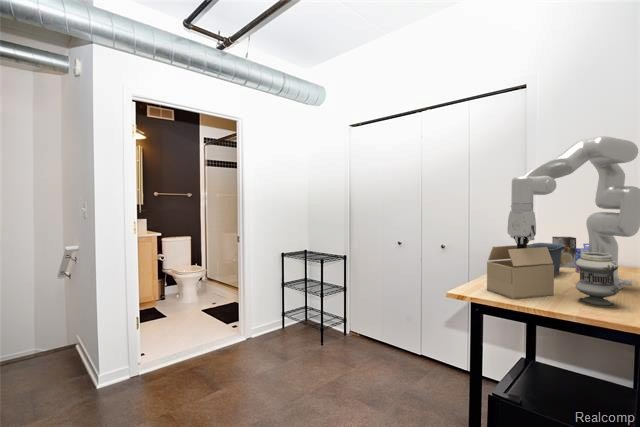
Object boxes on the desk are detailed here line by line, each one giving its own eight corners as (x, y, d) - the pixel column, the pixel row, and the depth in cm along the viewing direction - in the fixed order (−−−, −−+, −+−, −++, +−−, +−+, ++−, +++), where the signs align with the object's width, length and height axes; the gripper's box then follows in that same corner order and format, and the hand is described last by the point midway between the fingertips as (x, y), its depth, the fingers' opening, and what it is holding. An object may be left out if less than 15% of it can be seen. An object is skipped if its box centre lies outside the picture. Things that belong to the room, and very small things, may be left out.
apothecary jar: (573, 296, 131) (573, 250, 130) (613, 300, 124) (614, 252, 124) (577, 305, 120) (578, 255, 119) (622, 310, 114) (623, 257, 113)
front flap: (546, 247, 135) (547, 246, 135) (552, 263, 133) (553, 263, 132) (507, 249, 131) (508, 249, 130) (513, 266, 128) (514, 266, 128)
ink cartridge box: (596, 271, 171) (597, 243, 171) (603, 274, 166) (603, 244, 165) (574, 271, 173) (574, 243, 173) (580, 273, 168) (580, 244, 167)
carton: (525, 286, 146) (525, 258, 146) (554, 295, 133) (554, 264, 132) (486, 289, 142) (486, 261, 141) (512, 299, 128) (512, 268, 128)
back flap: (524, 257, 145) (524, 257, 146) (530, 244, 142) (529, 244, 143) (488, 260, 141) (487, 259, 141) (493, 247, 138) (492, 246, 138)
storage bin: (552, 280, 156) (552, 249, 156) (515, 274, 169) (516, 246, 168) (566, 273, 170) (567, 244, 169) (532, 268, 182) (532, 241, 181)
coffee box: (569, 265, 188) (570, 236, 187) (576, 267, 182) (577, 237, 181) (551, 264, 190) (552, 236, 189) (557, 267, 183) (558, 237, 183)
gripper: (500, 207, 141) (499, 251, 142) (530, 208, 127) (529, 257, 127) (515, 207, 143) (514, 250, 144) (546, 208, 128) (545, 256, 129)
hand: (521, 253), depth 135 cm, fingers closed
